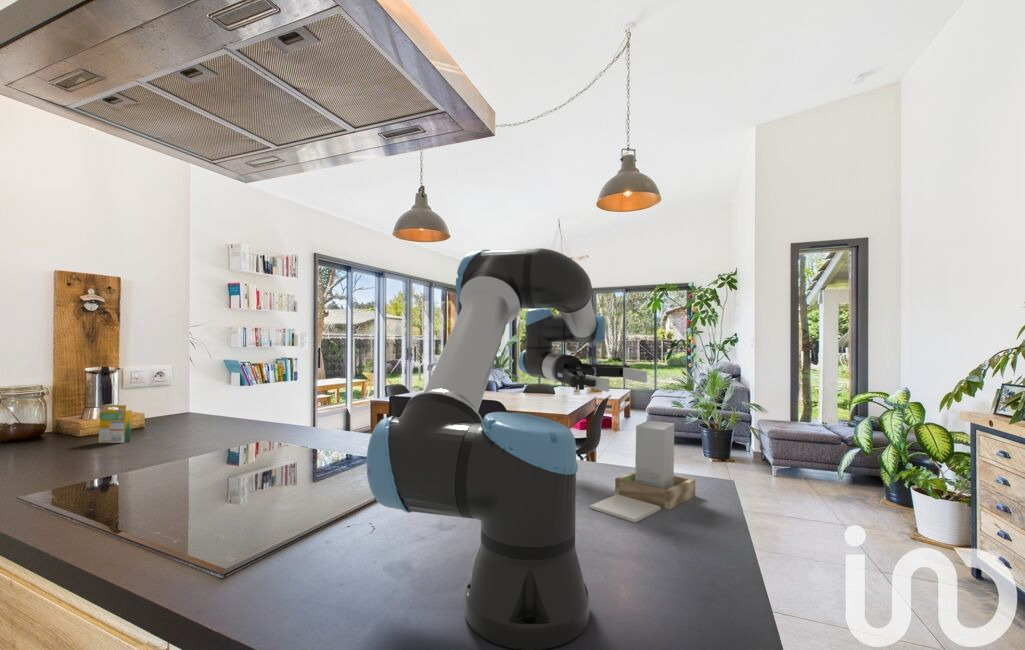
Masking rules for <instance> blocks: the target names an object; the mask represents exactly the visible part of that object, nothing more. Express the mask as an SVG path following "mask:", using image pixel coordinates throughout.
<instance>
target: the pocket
mask: <svg viewBox="0 0 1025 650" xmlns="http://www.w3.org/2000/svg"><path fill="white" fill-rule="evenodd" d="M614 481H615V482H614V484H615V485H614V486H615V487H614V495H615V494H616V495H617V494H618V495H621V496H625V497H629V498H632V499H636V500H639V501H643V502H647V503H650V504H654V505H657V506H661V508H662V509H665V510H671V509H674V508H675V507H676V506H678V505H680V504H682V502H683V503H684V501H685V502H686V501H688V500H690V499H692V498H694V497H696V479H694V478H689V477H686V476H681V475H677V474H674V486H673V487H672V488H670V489H667V490H666V489H662V488H658V487H654V486H650V485H646V484H642V483H638V482H635V470H634V471H632V472H629V473H626V474H624V475H620V476H618V477H615V478H614ZM693 496H694V497H693ZM691 497H692V498H691ZM689 498H690V499H689Z"/></svg>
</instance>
